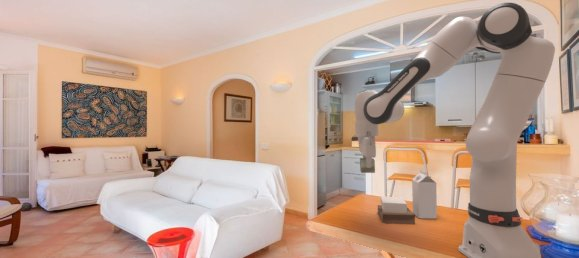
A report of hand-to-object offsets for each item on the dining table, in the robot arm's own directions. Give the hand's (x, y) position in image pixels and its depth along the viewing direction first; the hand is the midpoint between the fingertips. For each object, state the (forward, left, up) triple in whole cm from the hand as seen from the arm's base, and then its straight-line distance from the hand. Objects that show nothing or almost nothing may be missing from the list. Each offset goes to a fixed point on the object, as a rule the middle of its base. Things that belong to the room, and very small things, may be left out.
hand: (367, 166), depth 104 cm
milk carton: (+11, -24, -23) cm, 35 cm away
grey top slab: (+8, -11, -20) cm, 24 cm away
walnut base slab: (+7, -12, -24) cm, 27 cm away
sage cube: (0, 0, -2) cm, 2 cm away
